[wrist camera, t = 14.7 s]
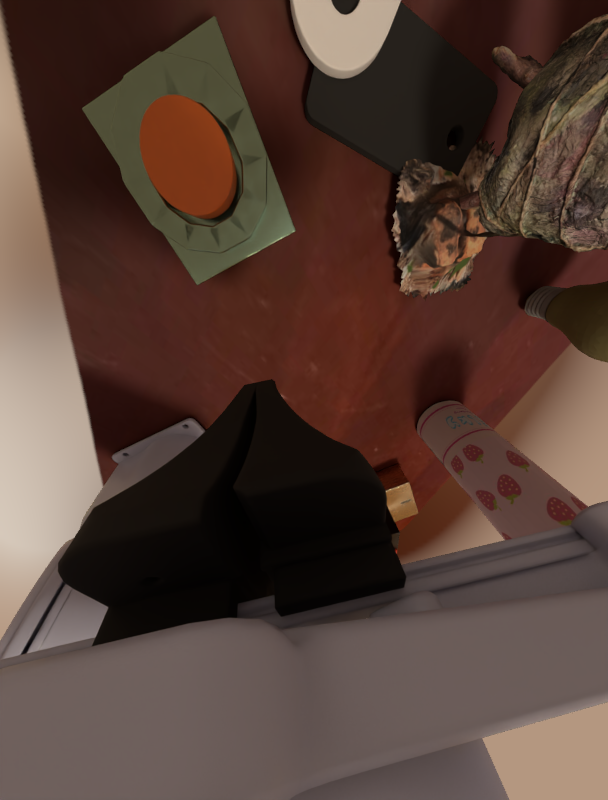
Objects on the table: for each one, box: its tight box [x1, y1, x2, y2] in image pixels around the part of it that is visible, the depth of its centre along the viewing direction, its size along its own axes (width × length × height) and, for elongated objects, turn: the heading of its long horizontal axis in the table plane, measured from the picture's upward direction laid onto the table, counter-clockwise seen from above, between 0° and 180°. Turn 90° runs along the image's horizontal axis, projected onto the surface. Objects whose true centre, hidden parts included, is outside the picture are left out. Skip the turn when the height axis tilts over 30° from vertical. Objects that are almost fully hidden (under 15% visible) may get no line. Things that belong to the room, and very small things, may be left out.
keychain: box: [305, 0, 498, 177], centre depth 13 cm, size 5×1×10 cm
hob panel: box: [376, 464, 418, 522], centre depth 33 cm, size 10×9×3 cm
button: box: [139, 95, 237, 219], centre depth 11 cm, size 4×4×2 cm
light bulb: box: [525, 281, 608, 362], centre depth 17 cm, size 6×6×10 cm
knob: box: [385, 506, 400, 554], centre depth 30 cm, size 5×2×4 cm, turn 9°
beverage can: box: [417, 401, 588, 540], centre depth 21 cm, size 6×6×15 cm
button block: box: [82, 16, 296, 285], centre depth 13 cm, size 7×8×4 cm
